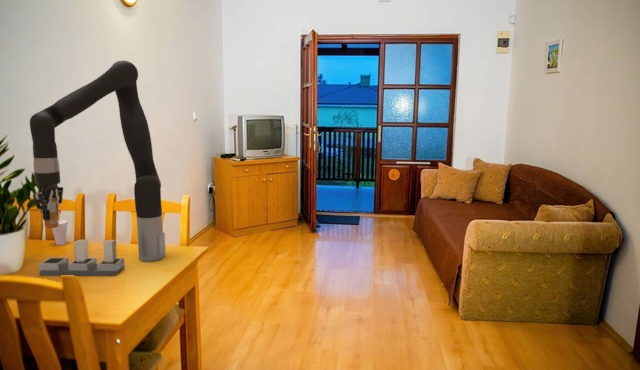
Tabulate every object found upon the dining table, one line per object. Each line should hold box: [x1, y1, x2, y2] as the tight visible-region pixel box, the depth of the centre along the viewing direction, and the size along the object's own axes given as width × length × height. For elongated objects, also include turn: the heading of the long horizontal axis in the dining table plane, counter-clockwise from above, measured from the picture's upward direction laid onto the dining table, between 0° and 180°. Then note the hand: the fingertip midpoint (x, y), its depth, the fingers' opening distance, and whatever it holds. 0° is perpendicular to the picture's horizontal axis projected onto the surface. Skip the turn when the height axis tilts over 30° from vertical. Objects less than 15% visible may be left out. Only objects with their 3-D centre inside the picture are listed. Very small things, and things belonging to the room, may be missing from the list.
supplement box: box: [43, 199, 59, 229], centre depth 152 cm, size 3×3×10 cm
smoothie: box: [51, 211, 69, 246], centre depth 184 cm, size 6×6×14 cm
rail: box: [38, 239, 125, 277], centre depth 154 cm, size 27×8×12 cm, turn 92°
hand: (51, 218), depth 153 cm, fingers closed on supplement box, 4 cm apart
